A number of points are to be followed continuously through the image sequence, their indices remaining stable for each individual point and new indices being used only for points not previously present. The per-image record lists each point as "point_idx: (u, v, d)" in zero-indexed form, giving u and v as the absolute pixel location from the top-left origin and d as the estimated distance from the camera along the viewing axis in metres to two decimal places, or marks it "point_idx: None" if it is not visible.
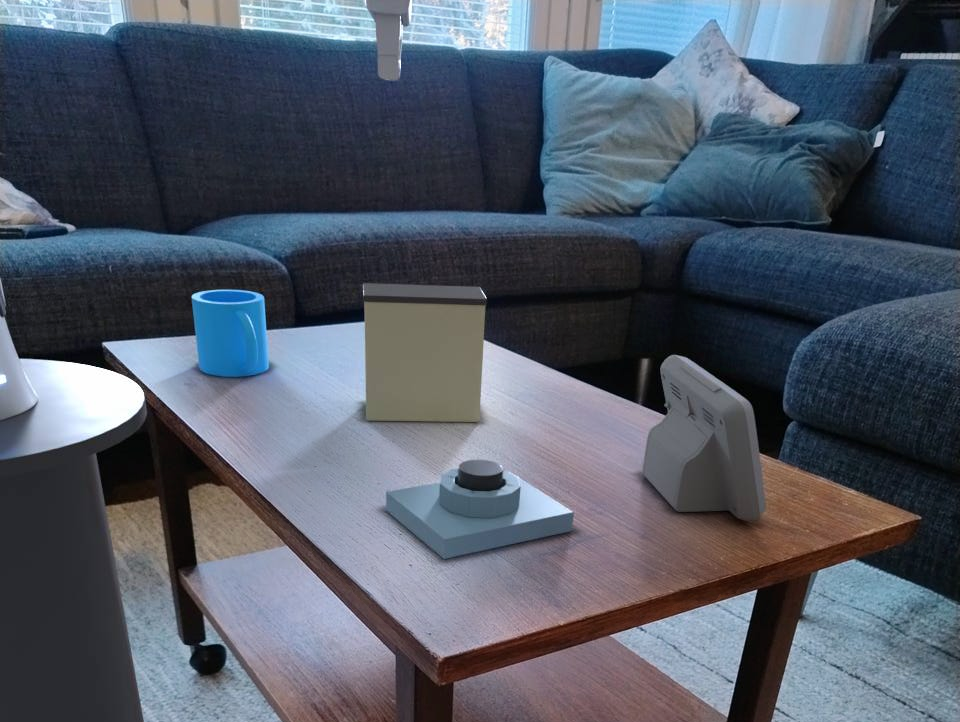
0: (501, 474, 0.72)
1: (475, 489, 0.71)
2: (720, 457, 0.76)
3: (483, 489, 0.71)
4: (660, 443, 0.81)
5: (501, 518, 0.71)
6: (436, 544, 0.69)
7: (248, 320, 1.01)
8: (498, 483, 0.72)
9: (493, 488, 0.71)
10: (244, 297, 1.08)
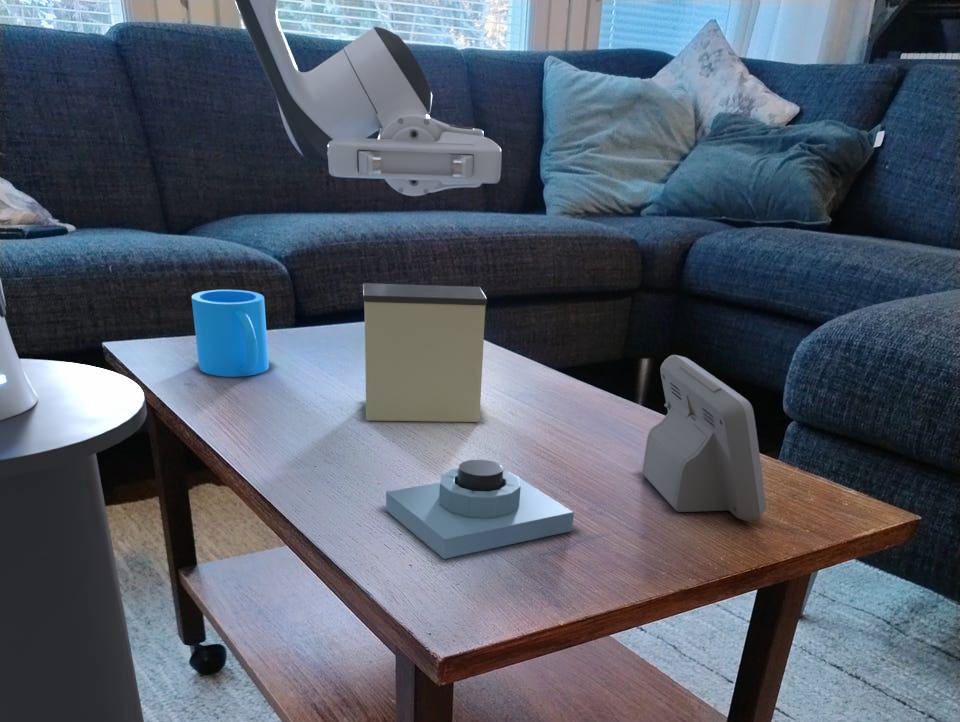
0: (501, 474, 0.72)
1: (475, 489, 0.71)
2: (720, 457, 0.76)
3: (483, 489, 0.71)
4: (660, 443, 0.81)
5: (501, 518, 0.71)
6: (436, 544, 0.69)
7: (248, 320, 1.01)
8: (498, 483, 0.72)
9: (493, 488, 0.71)
10: (244, 297, 1.08)
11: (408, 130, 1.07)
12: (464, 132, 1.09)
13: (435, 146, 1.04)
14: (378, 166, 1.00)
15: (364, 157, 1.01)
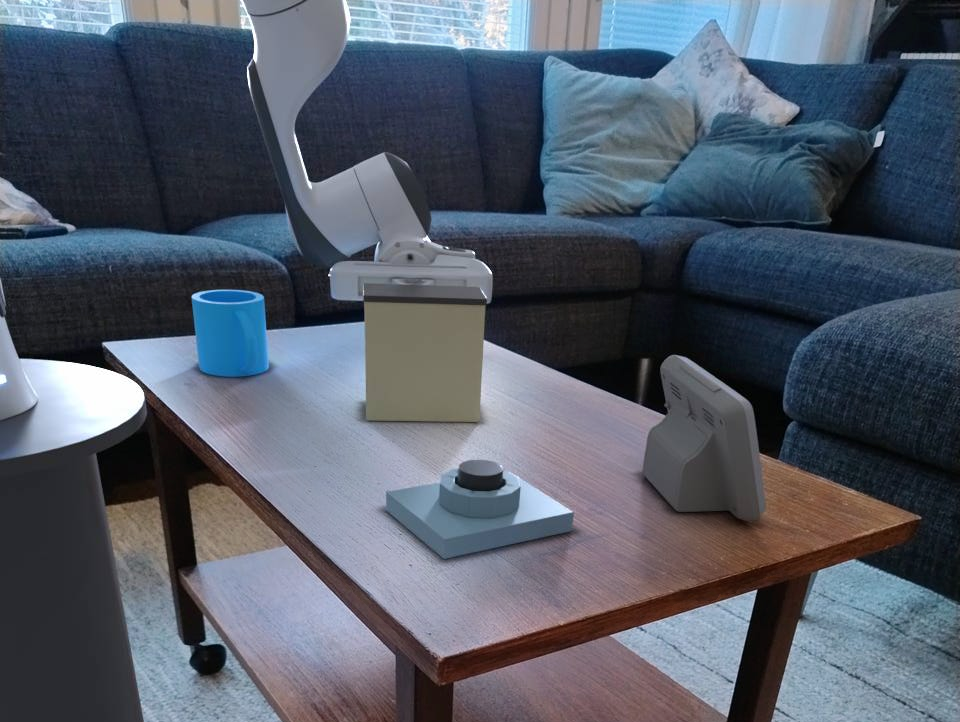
0: (501, 474, 0.72)
1: (475, 489, 0.71)
2: (720, 457, 0.76)
3: (483, 489, 0.71)
4: (660, 443, 0.81)
5: (501, 518, 0.71)
6: (436, 544, 0.69)
7: (248, 320, 1.01)
8: (498, 483, 0.72)
9: (493, 488, 0.71)
10: (244, 297, 1.08)
11: (405, 254, 1.15)
12: (457, 254, 1.17)
13: (431, 272, 1.11)
14: None
15: None
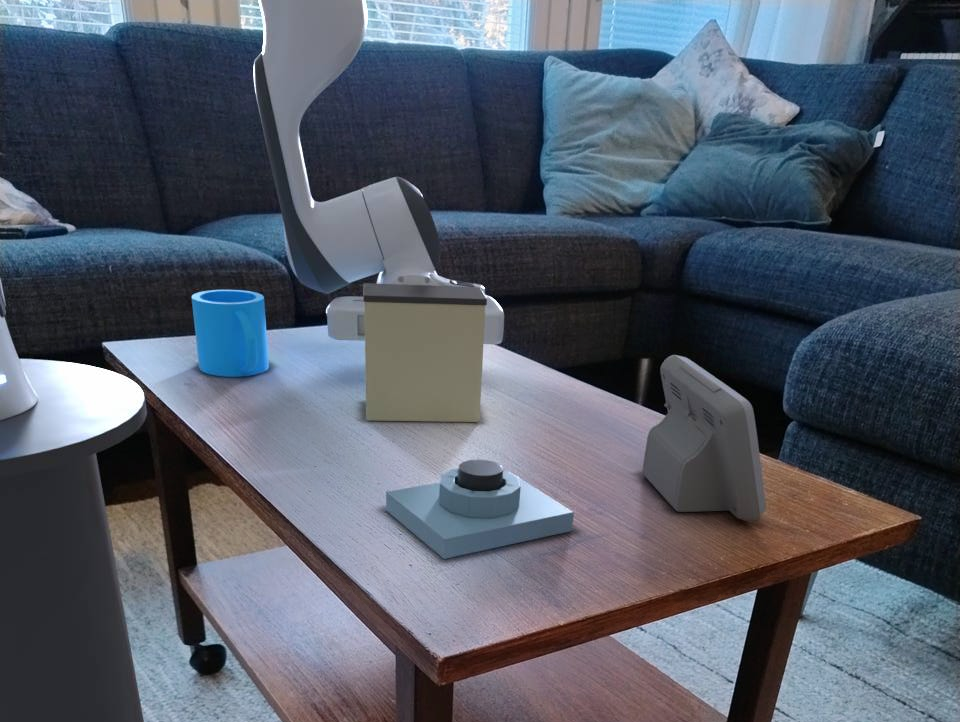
0: (501, 474, 0.72)
1: (475, 489, 0.71)
2: (720, 457, 0.76)
3: (483, 489, 0.71)
4: (660, 443, 0.81)
5: (501, 518, 0.71)
6: (436, 544, 0.69)
7: (248, 320, 1.01)
8: (498, 483, 0.72)
9: (493, 488, 0.71)
10: (244, 297, 1.08)
11: None
12: None
13: None
14: None
15: None
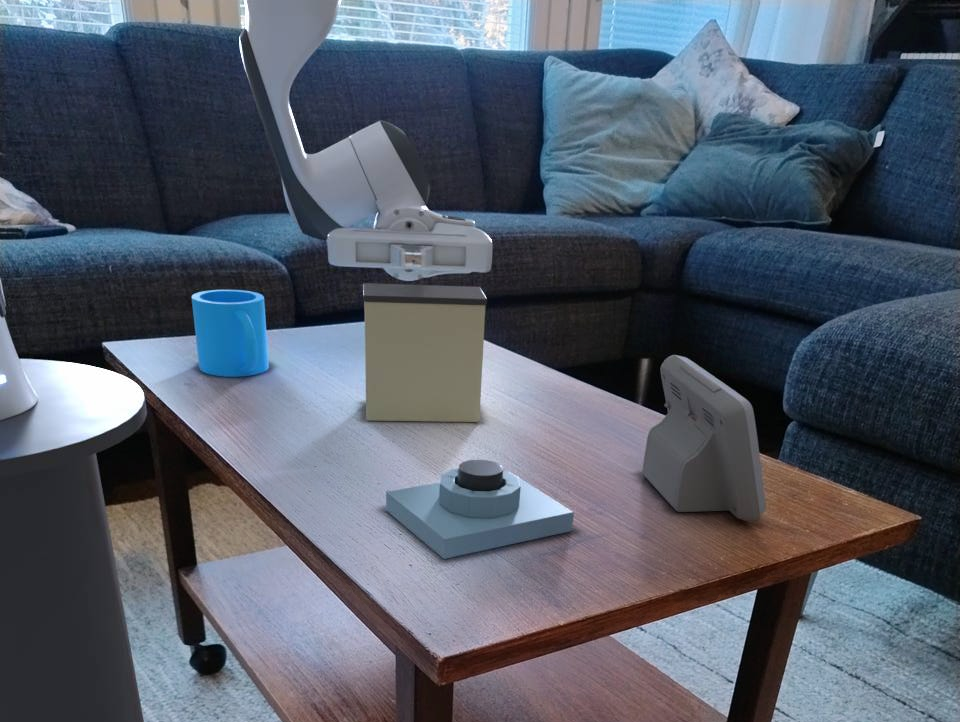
0: (501, 474, 0.72)
1: (475, 489, 0.71)
2: (720, 457, 0.76)
3: (483, 489, 0.71)
4: (660, 443, 0.81)
5: (501, 518, 0.71)
6: (436, 544, 0.69)
7: (248, 320, 1.01)
8: (498, 483, 0.72)
9: (493, 488, 0.71)
10: (244, 297, 1.08)
11: (404, 221, 1.13)
12: (457, 223, 1.15)
13: (430, 238, 1.09)
14: (410, 260, 1.06)
15: (396, 251, 1.07)
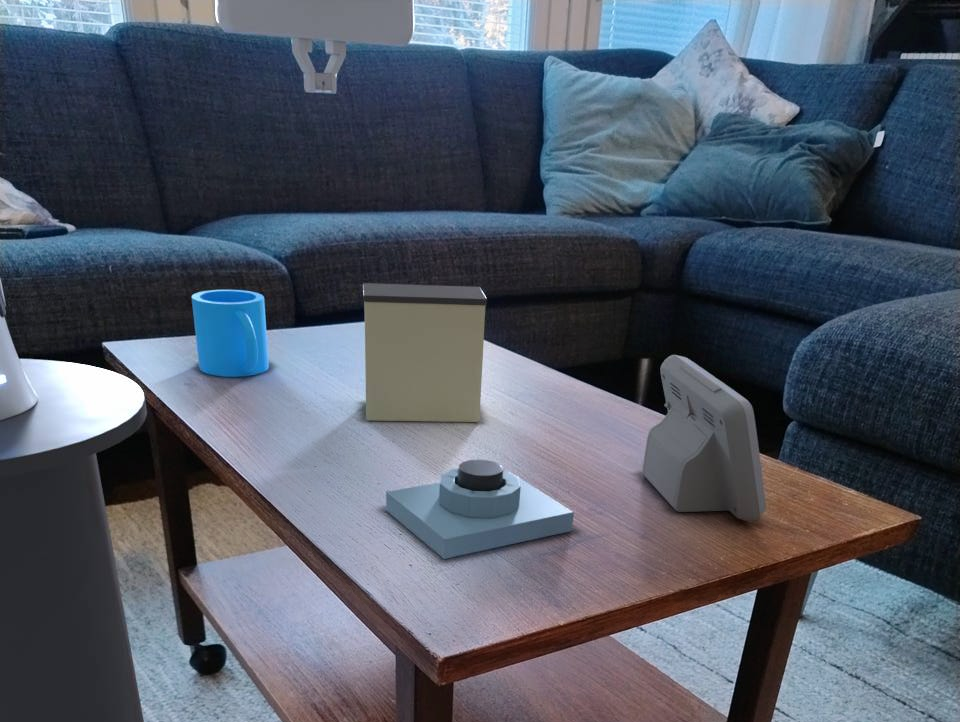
0: (501, 474, 0.72)
1: (475, 489, 0.71)
2: (720, 457, 0.76)
3: (483, 489, 0.71)
4: (660, 443, 0.81)
5: (501, 518, 0.71)
6: (436, 544, 0.69)
7: (248, 320, 1.01)
8: (498, 483, 0.72)
9: (493, 488, 0.71)
10: (244, 297, 1.08)
11: None
12: None
13: (346, 35, 0.91)
14: None
15: (305, 66, 0.92)
